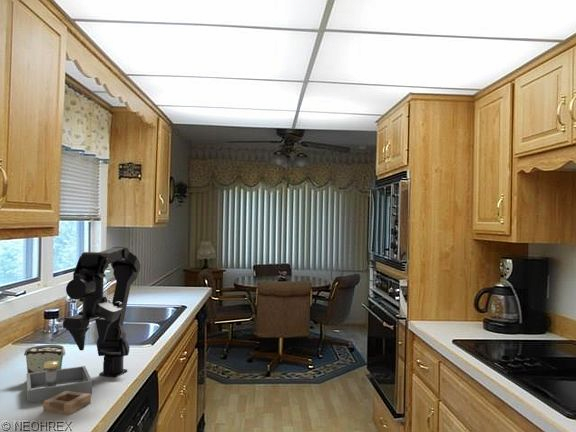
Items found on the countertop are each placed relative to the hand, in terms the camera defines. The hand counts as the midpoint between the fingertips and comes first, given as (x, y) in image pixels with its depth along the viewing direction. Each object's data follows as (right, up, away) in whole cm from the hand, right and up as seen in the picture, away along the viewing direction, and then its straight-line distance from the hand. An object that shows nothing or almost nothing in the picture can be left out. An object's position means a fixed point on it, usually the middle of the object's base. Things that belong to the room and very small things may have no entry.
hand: (92, 346), depth 141 cm
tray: (-8, -13, -4) cm, 16 cm away
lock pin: (-8, -12, -8) cm, 17 cm away
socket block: (+1, -13, -17) cm, 21 cm away
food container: (-18, -13, +10) cm, 24 cm away
